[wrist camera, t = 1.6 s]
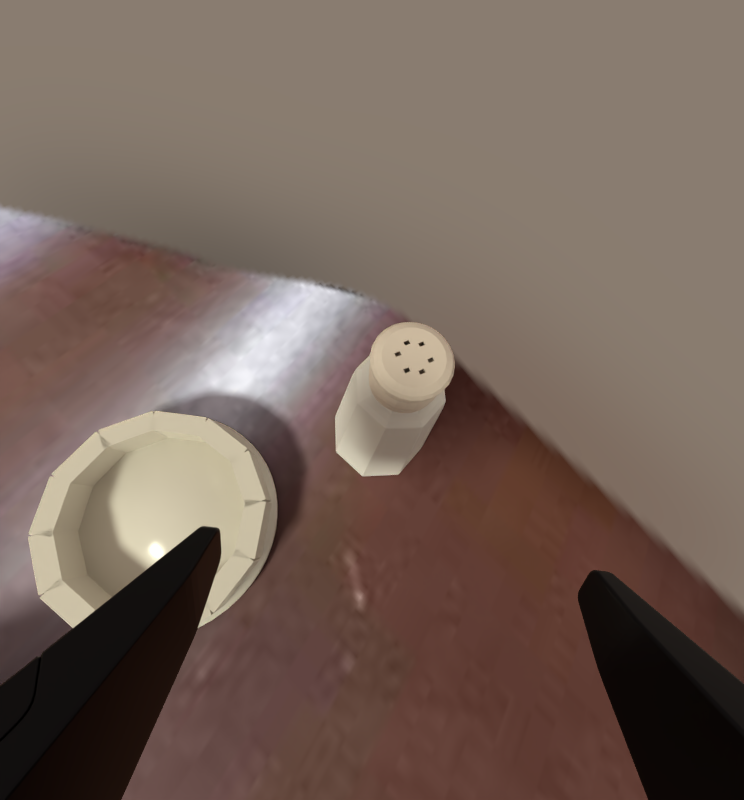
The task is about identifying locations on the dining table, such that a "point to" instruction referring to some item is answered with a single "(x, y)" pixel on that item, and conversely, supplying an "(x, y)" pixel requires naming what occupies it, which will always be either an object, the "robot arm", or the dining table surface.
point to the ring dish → (151, 510)
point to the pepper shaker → (394, 399)
